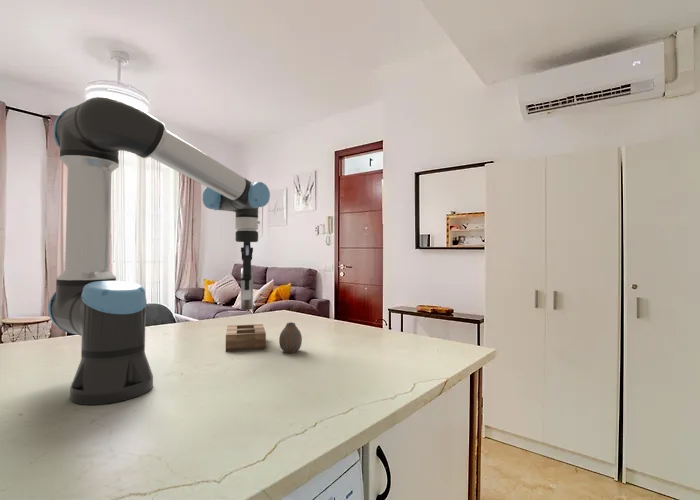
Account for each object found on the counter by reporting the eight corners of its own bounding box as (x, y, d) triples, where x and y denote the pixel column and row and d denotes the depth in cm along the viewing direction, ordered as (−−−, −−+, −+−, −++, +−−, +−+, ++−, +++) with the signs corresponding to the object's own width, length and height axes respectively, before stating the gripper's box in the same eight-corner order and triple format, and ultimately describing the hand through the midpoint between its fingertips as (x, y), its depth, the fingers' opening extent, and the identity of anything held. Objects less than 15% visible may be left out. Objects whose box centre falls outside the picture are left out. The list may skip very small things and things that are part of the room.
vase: (299, 354, 113) (300, 325, 113) (277, 354, 113) (277, 324, 113) (303, 348, 120) (303, 321, 120) (281, 348, 120) (281, 320, 120)
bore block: (265, 349, 119) (265, 333, 119) (225, 351, 115) (225, 335, 115) (262, 338, 134) (262, 324, 134) (227, 339, 130) (227, 325, 131)
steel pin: (253, 309, 127) (253, 268, 127) (240, 310, 126) (241, 268, 126) (252, 307, 131) (252, 267, 131) (240, 308, 130) (241, 268, 130)
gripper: (259, 229, 122) (259, 301, 122) (257, 231, 138) (256, 295, 138) (235, 228, 120) (234, 302, 120) (235, 231, 136) (235, 296, 136)
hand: (246, 298), depth 129 cm, fingers closed on steel pin, 4 cm apart
